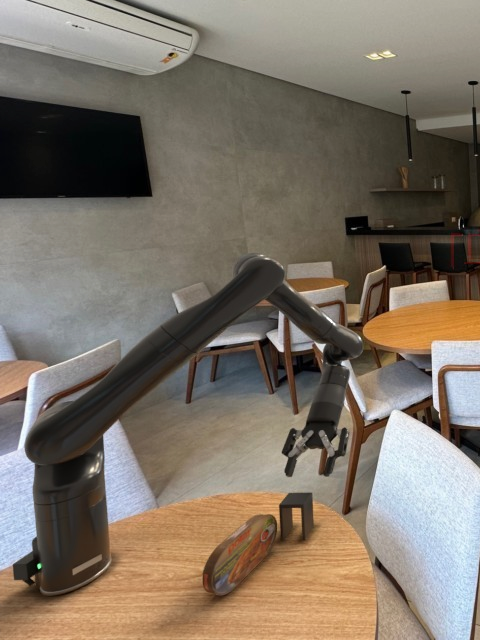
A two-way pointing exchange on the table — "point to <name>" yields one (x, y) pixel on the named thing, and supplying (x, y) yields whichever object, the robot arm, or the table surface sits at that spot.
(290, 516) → the dark grey stool
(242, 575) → the tin
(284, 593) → the table surface
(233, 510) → the table surface
